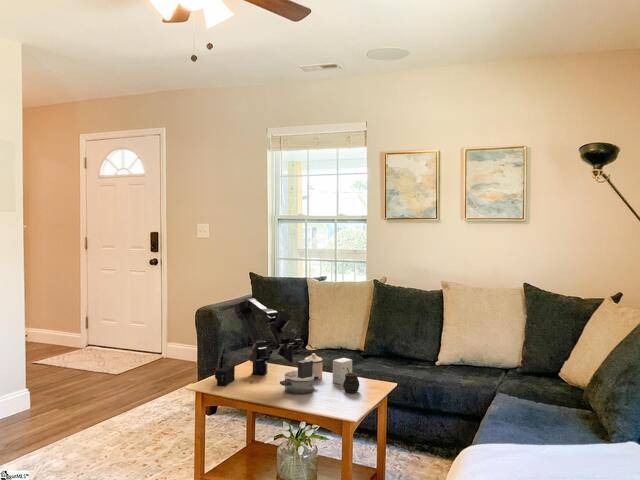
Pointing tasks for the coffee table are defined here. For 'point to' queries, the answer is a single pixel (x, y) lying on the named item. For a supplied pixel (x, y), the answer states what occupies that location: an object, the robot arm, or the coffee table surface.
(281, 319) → the robot arm
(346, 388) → the mate gourd
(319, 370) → the teacup with lid
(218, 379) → the digital camera
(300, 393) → the pot
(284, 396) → the coffee table surface
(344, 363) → the small box
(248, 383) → the coffee table surface
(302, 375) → the lid
